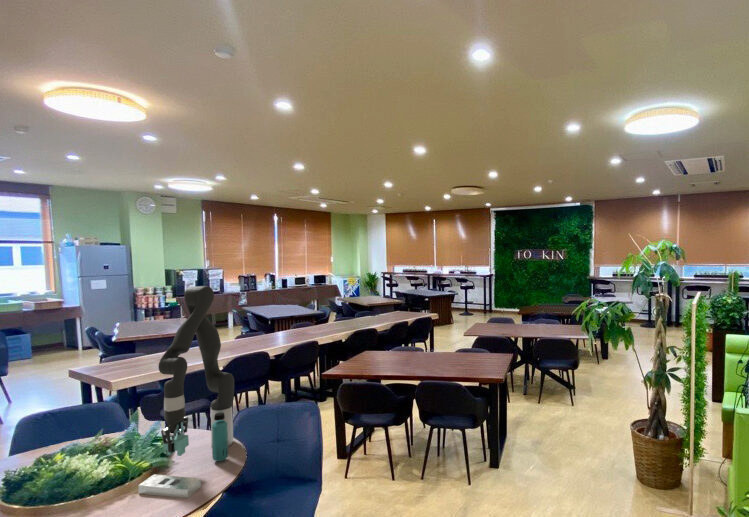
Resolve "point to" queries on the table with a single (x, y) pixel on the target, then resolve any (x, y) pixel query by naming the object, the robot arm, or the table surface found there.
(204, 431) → the table surface
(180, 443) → the clip
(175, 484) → the pale grey flat slab
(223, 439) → the beverage bottle
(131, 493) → the table surface
